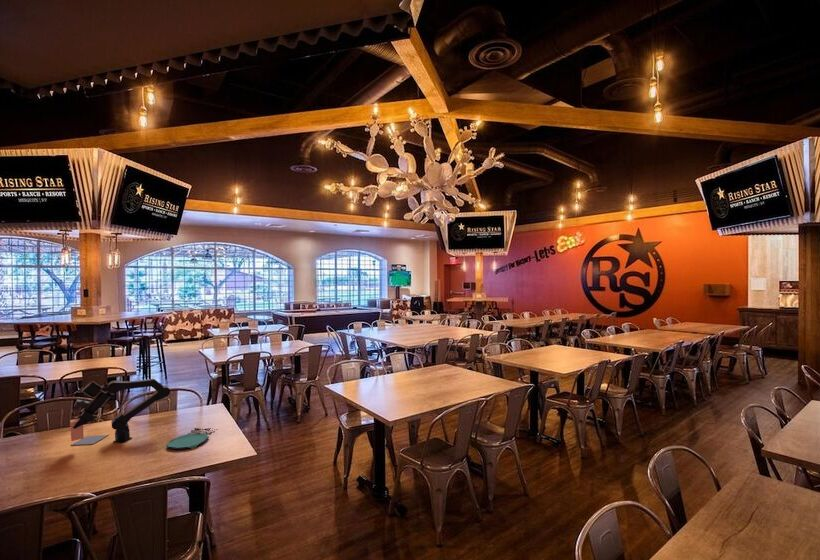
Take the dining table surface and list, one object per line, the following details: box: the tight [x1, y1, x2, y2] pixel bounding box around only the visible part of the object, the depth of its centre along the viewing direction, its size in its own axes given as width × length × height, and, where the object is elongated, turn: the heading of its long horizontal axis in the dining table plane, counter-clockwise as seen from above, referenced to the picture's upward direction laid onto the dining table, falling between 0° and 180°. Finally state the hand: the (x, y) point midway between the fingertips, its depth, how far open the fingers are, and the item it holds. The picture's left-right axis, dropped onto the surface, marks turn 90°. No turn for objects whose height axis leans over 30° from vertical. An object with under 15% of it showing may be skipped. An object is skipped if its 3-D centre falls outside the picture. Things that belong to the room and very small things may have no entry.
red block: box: [69, 418, 84, 442], centre depth 211 cm, size 5×5×10 cm
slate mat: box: [70, 434, 109, 447], centre depth 224 cm, size 12×12×1 cm
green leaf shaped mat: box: [165, 427, 211, 450], centre depth 223 cm, size 20×30×2 cm, turn 178°
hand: (73, 427), depth 210 cm, fingers closed on red block, 5 cm apart
